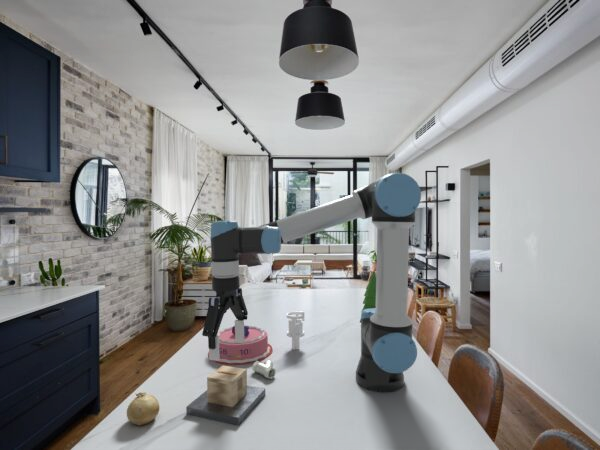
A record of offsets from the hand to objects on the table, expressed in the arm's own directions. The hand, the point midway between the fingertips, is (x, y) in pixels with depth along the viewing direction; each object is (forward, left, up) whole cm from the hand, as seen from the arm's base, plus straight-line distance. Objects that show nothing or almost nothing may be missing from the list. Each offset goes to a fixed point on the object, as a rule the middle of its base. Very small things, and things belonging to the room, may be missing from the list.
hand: (228, 350), depth 100 cm
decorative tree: (-31, -64, -16) cm, 73 cm away
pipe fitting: (-2, -21, -16) cm, 27 cm away
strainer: (-4, -45, -16) cm, 48 cm away
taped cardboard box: (0, 0, -14) cm, 14 cm away
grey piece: (0, 0, -16) cm, 16 cm away
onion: (+17, +14, -16) cm, 27 cm away
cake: (+16, -35, -16) cm, 42 cm away
